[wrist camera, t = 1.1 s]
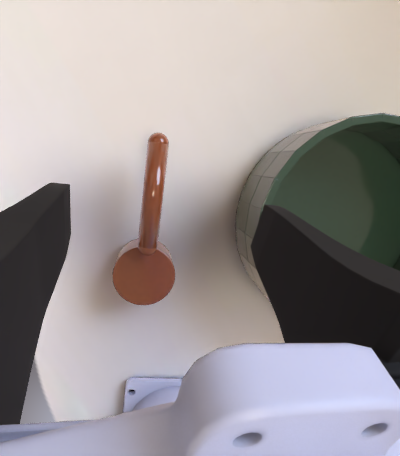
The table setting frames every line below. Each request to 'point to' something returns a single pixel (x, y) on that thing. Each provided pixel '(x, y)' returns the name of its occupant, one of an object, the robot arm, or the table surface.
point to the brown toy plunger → (147, 238)
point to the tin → (331, 187)
